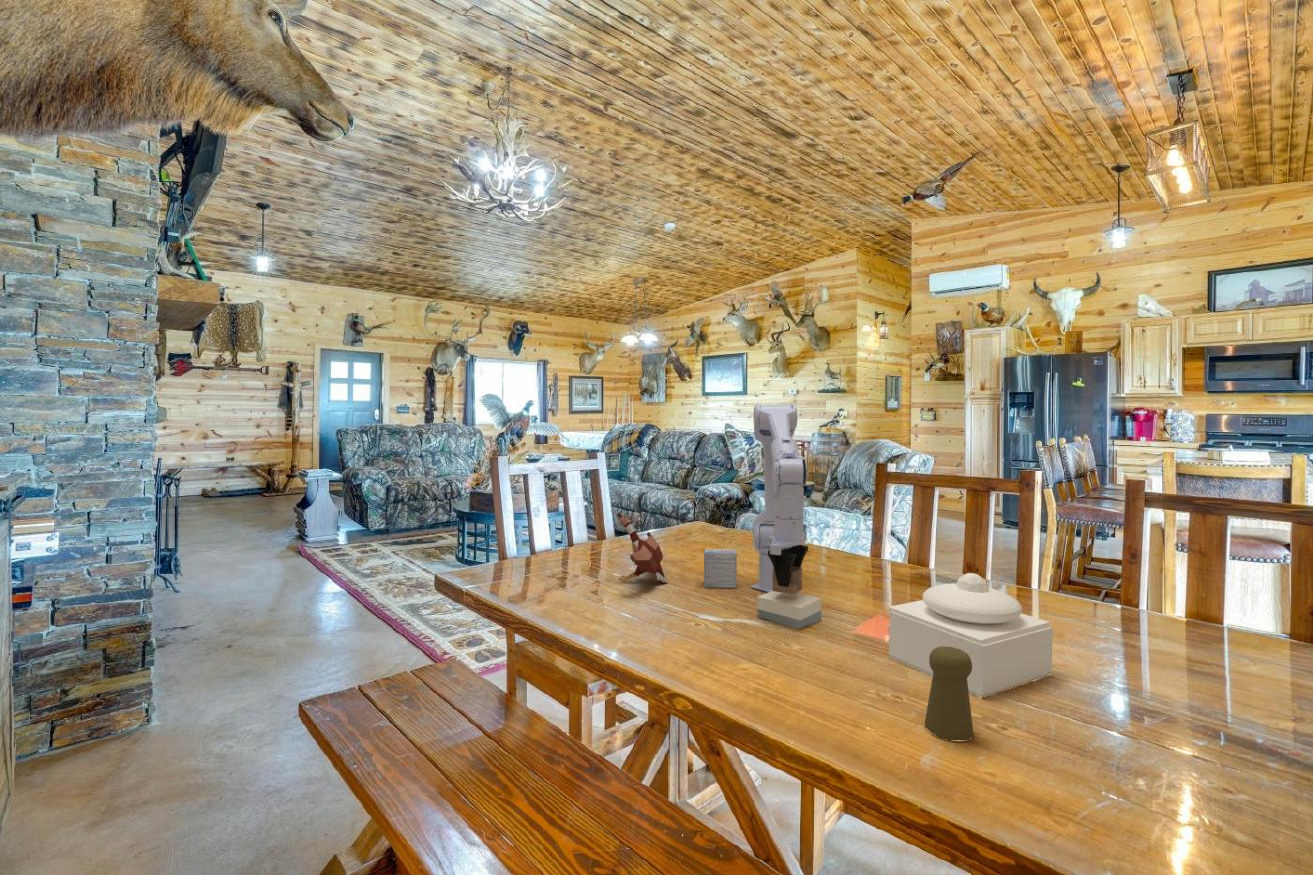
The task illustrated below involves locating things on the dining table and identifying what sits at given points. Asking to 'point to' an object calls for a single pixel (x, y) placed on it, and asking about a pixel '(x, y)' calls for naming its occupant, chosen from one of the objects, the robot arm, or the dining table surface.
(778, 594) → the tower top block
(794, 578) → the walnut cube
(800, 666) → the dining table surface
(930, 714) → the dark olive pawn
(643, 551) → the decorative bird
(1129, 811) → the dining table surface
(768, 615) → the tower base block
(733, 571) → the gray wood grain block
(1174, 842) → the dining table surface
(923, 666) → the white saucer-topped box
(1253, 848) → the dining table surface
